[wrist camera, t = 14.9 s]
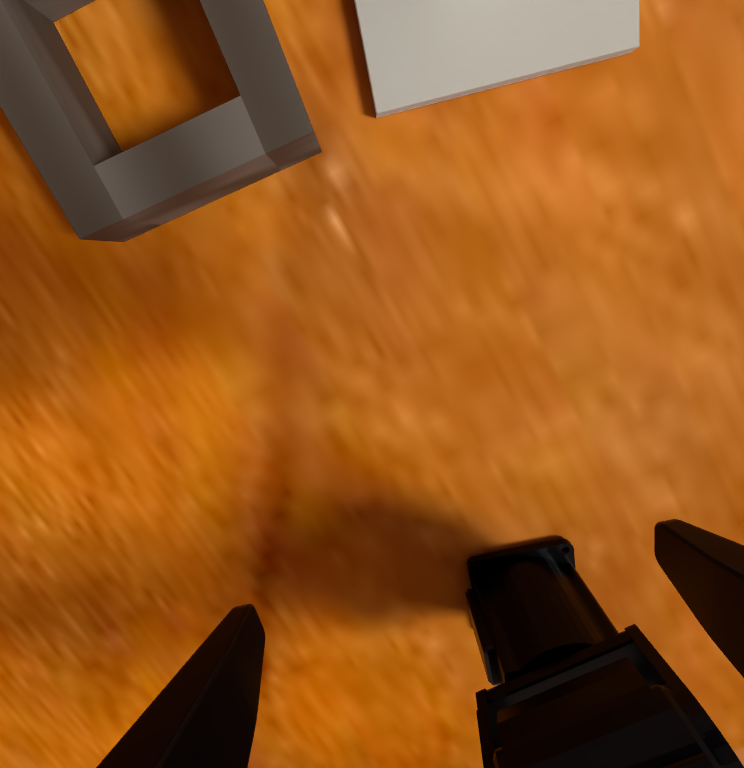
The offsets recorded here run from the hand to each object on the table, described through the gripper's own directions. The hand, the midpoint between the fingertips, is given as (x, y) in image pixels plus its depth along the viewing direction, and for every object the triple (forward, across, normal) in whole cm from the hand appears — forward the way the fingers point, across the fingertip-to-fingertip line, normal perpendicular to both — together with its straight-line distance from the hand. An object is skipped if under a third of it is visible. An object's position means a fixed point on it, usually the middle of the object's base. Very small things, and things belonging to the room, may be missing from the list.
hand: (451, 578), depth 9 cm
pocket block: (+13, +7, -16) cm, 22 cm away
